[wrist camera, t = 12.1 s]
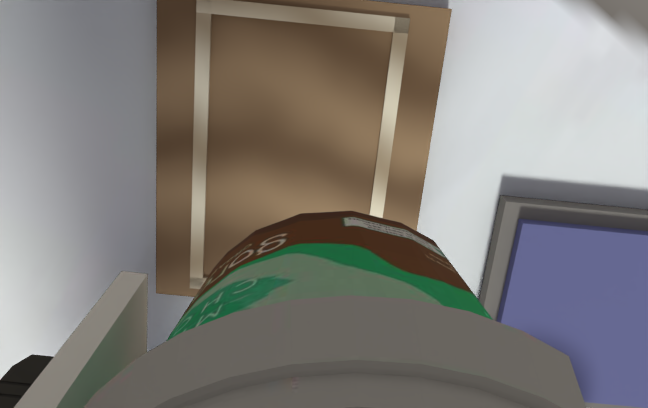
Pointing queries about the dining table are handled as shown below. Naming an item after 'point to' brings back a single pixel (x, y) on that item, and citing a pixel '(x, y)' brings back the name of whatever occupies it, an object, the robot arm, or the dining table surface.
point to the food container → (341, 331)
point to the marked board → (287, 119)
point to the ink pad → (576, 289)
